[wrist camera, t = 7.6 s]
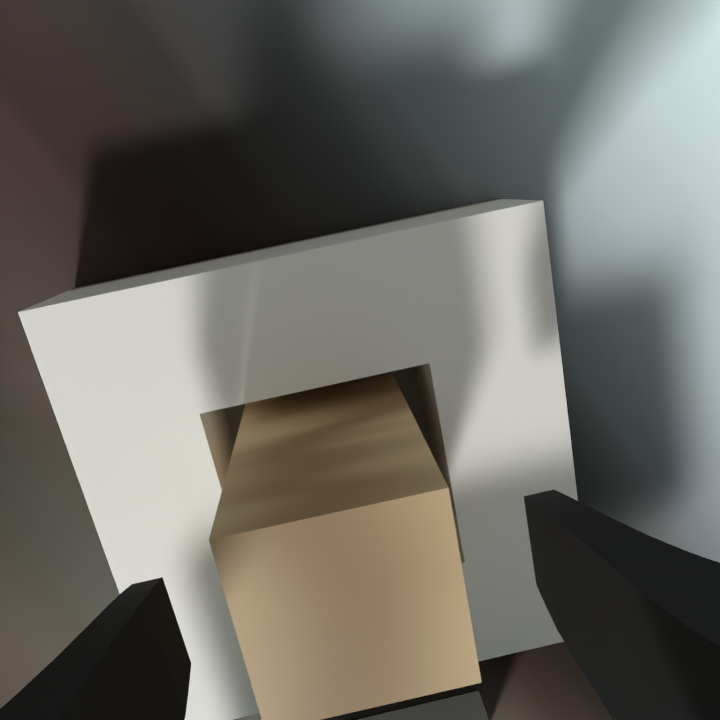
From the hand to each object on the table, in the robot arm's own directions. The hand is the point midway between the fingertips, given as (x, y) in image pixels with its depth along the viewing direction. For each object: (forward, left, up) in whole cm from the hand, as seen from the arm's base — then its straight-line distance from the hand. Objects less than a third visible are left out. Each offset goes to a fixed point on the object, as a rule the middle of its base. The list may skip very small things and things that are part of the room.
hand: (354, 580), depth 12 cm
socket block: (0, 0, -7) cm, 7 cm away
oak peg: (0, 0, -7) cm, 7 cm away
